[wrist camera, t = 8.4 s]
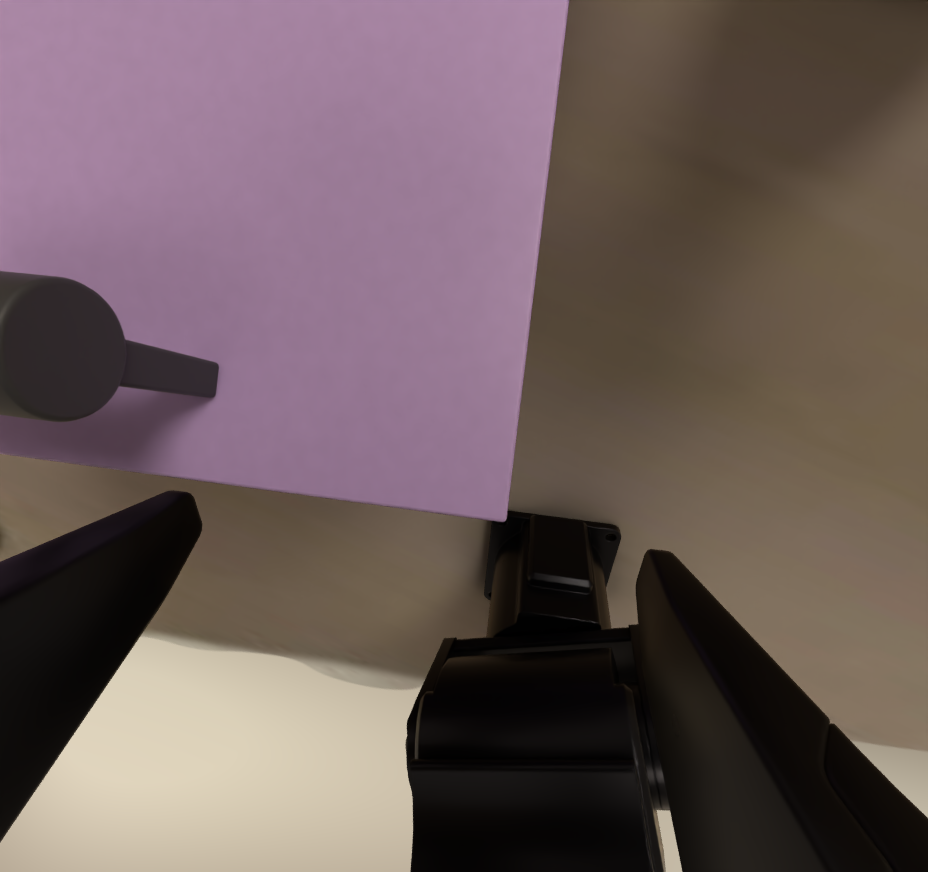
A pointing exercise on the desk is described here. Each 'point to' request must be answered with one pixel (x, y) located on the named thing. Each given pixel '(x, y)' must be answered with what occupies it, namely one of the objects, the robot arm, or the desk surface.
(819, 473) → the desk surface
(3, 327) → the door panel with handle
